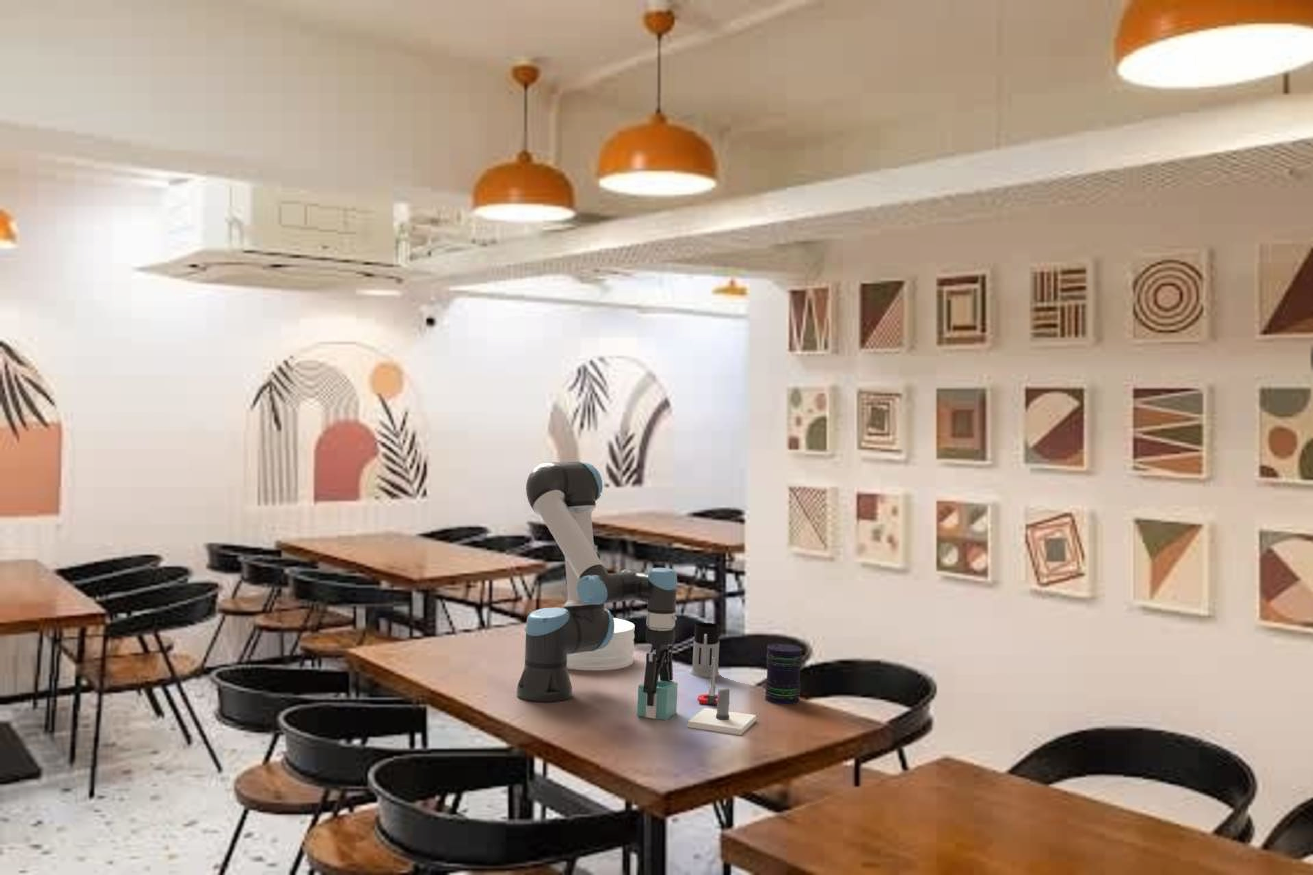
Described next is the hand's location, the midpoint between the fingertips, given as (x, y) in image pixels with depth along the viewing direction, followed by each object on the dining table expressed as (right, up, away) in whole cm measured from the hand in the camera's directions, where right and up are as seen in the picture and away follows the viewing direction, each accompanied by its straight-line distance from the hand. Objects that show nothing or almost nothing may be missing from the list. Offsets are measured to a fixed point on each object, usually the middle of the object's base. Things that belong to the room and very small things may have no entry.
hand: (657, 713), depth 284 cm
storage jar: (+35, -2, +20) cm, 40 cm away
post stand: (+17, -1, -6) cm, 18 cm away
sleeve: (0, 0, 0) cm, 0 cm away
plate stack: (-22, +2, +59) cm, 62 cm away
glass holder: (+14, 0, +44) cm, 46 cm away
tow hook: (+15, -1, +16) cm, 22 cm away
